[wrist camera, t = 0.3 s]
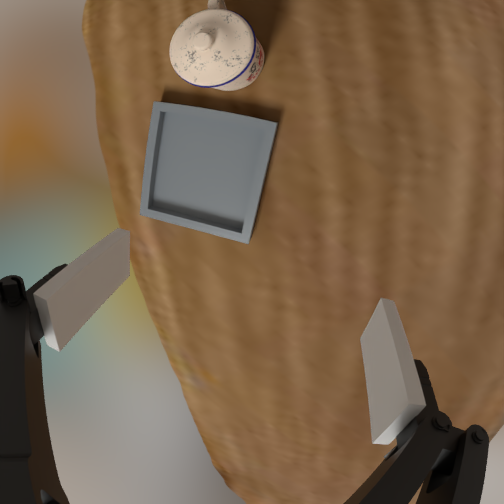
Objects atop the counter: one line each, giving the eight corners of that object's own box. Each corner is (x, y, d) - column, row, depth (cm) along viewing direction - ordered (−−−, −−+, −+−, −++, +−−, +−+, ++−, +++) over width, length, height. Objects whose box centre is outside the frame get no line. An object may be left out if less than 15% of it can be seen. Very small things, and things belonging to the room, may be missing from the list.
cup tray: (160, 101, 37) (153, 101, 35) (278, 122, 36) (277, 122, 34) (146, 210, 44) (139, 214, 42) (250, 238, 43) (248, 244, 41)
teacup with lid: (268, 90, 34) (252, 79, 24) (198, 96, 36) (158, 91, 26) (263, 6, 29) (246, -31, 19) (194, 15, 31) (156, -13, 21)
